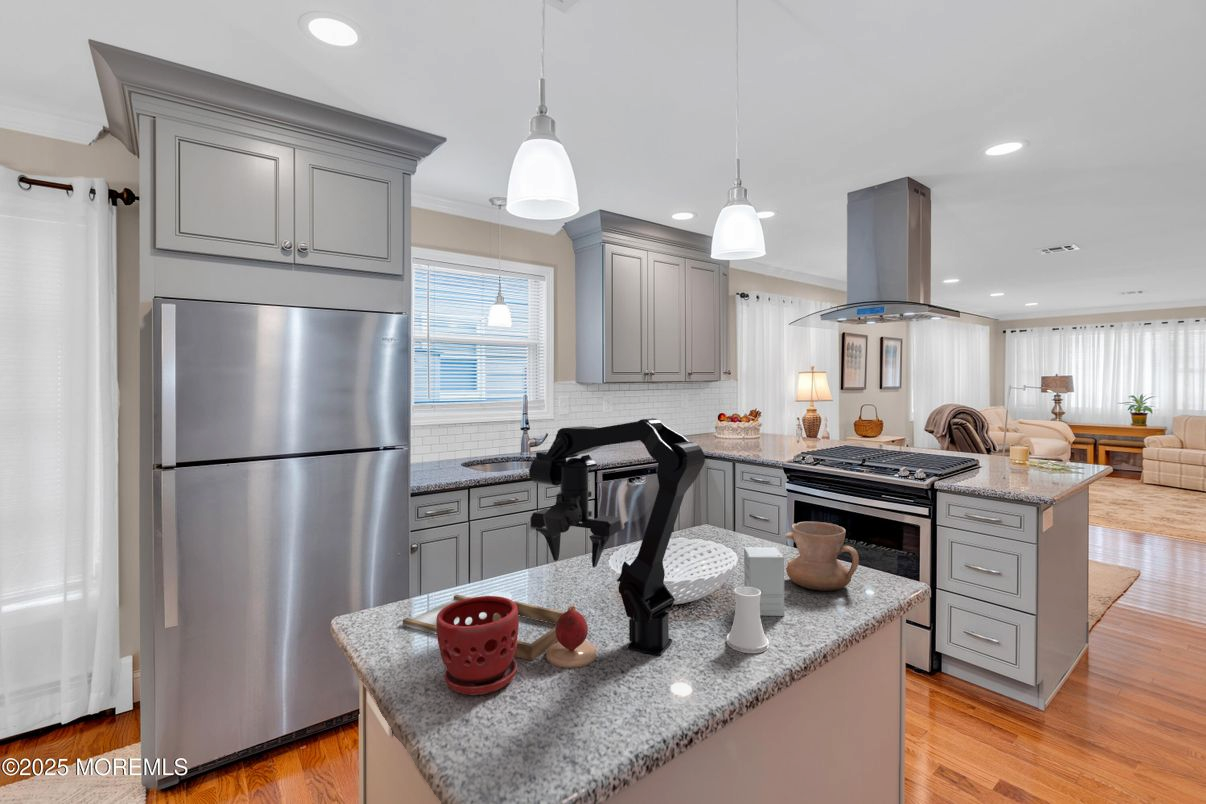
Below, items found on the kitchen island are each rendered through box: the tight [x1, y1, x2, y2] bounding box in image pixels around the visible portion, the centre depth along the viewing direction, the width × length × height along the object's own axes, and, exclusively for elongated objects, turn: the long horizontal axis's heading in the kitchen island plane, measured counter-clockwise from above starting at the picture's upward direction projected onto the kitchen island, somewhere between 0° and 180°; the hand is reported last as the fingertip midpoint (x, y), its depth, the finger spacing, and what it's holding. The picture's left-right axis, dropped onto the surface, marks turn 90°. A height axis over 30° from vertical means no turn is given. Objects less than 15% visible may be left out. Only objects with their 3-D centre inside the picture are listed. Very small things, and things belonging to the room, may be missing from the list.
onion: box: [555, 604, 589, 651], centre depth 100 cm, size 6×6×8 cm
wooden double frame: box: [402, 594, 566, 661], centre depth 113 cm, size 32×16×2 cm, turn 62°
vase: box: [726, 586, 770, 654], centre depth 104 cm, size 8×8×10 cm
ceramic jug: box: [784, 521, 860, 592], centre depth 135 cm, size 18×14×14 cm
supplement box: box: [743, 546, 785, 617], centre depth 121 cm, size 7×7×13 cm
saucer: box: [545, 640, 598, 669], centre depth 100 cm, size 9×9×1 cm
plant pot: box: [436, 595, 520, 696], centre depth 92 cm, size 13×13×12 cm
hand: (575, 563), depth 115 cm, fingers open, 9 cm apart
